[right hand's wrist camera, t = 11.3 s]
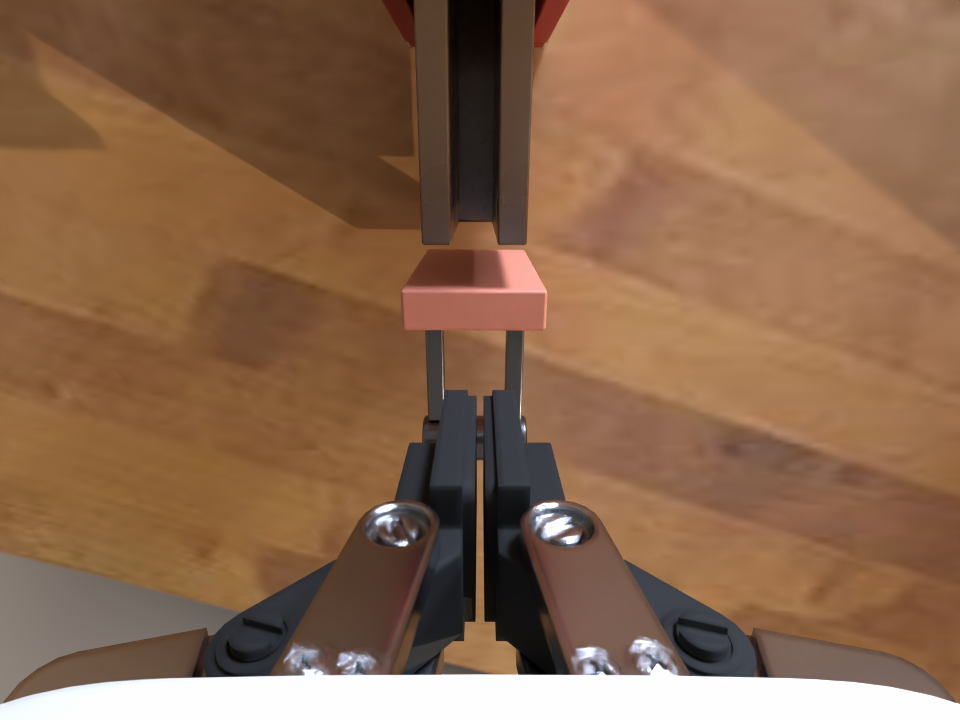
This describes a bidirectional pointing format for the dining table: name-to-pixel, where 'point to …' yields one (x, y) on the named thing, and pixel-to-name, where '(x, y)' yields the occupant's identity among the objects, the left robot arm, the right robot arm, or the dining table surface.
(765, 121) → the dining table surface
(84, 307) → the dining table surface
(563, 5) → the cabinet
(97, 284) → the dining table surface
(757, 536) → the dining table surface
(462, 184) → the drawer
